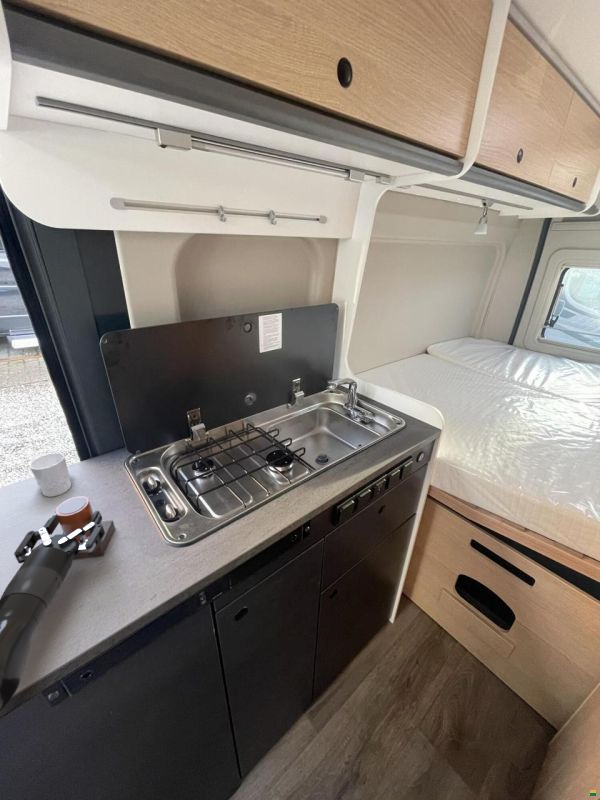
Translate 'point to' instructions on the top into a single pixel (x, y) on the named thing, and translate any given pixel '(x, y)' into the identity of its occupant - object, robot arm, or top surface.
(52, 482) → the white cup
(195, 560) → the top surface
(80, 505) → the canister
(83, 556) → the walnut block
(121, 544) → the top surface
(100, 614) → the top surface
